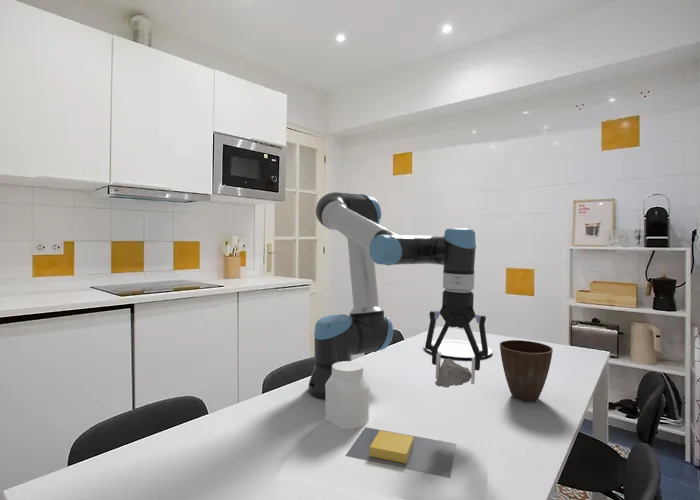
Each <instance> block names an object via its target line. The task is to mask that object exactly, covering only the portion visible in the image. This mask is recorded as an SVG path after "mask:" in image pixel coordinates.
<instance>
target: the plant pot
mask: <svg viewBox="0 0 700 500" xmlns="http://www.w3.org/2000/svg"><path fill="white" fill-rule="evenodd" d="M499 350H500V357H501V363H502V368H503V372H504V377H505V380H506V383H507V386H508V388H509V392H510V394H511V397H512V398H513V399H515V400H517V401H520V402H524V403H534V402H537V401H538V400H539V398H540V395H541V394H542V392H543V390H544V386H545V384H546V381H547V377H548V375H549V371H550V367H551V362H552V356H553V352H554V351H553V347H552V346H550V345H548V344H543V343H541V342H536V341H530V340H520V339H519V340H518V339H517V340H516V339H515V340H514V339H512V340H504V341H501V342H500V343H499Z"/></svg>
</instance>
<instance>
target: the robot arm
mask: <svg viewBox="0 0 700 500" xmlns="http://www.w3.org/2000/svg"><path fill="white" fill-rule="evenodd" d="M315 217H316V218H317V221H318V222H319V223H320V224H321V225H322V226H323V227H325V228H326V229H329V230H332V231H335V230H336V231H337V232H339V233H340V234H342V235H343V236H344V237H346V239H347V248H348V249H347V250H348V258H349V261H348V262H349V271H350V272H349V273H350V281H351V282H350V284H351V285H350V286H351V293H352V309H351V311H350V312H349V314H331V315H327V316H324V317H321V318H319V319H318V320H317V321H316V323H315V324H314V325H315V327H314V334H313V337H314V364H313V365H314V366H313V370H312V373H311V376H310V379H309V382H308V394H310V395H311V396H312V397H315V398H316V399H317V398H318V399H322V400H326V389H325V384H326V382H327V381H328V379H329V378H330V376H331V375H332V365H333V364H334V363H337V362H342V361H352V356H356V355H362V354H367V353H376V352H378V351H379V352H380V351H383V350H385V349H387V348H388V347H389V346H390V344H391V342H392V339H393V335H394V327H393V323H392V321H391V319H390V317H389V316H387V315H385V310H384V309H383V308H382V307H381V306H380V305H379V293H378V285H377V284H378V283H377V274H376V265H375V264H377V265H383V266H384V265H385V266H395V265H398V266H399V265H427V264H429V265H430V264H431V265H441V266H443V271H442V272H443V274H442V277H443V278H442V288H443V290H442V302H441V305H442V306H441V309H439V310H434V309H432V310H430V312H429V313H428V314H429V320H430V321H429V326H428V330H427V335H426V341H425V344H424V345H425V348H426V349H428V350H430V351H432V353H431V365H433V366H434V365H435V379H436V380H437V378H438V376H439V372H440V367H441V357H442V356H441V351H438V348H439V346H440V344H441V342H442V340H444V337H445V336H446V333H447V331H448V330H449V328H459V329H463V330H464V332H465V334H466V337H467V339H468V340H467V341H469V342H470V345H471V347H472V350H473V352H474V355H472V358H471V370H470V372H471V379H470V384H471V385H475V379H476V371H480V369H481V357H482V358H484V357H483V356H486V357H489V356H488V347H489V346H488V341H487V334H486V333H487V332H486V326H485V325H486V319H487V316H486V314H484V313H483V314H479V313H476V312H475V310H474V299H475V298H474V296H475V293H474V292H473V290H475V263H476V262H475V261H476V248H477V245H476V242H477V241H476V231H475V230H473V229H471V228H446V229H445V230H444V234H443V236H439V235H438V236H437V235H424V234H423V235H411V234H410V235H409V234H408V235H407V234H405V235H404V234H403V235H402V234H398V233H396V232H393V231H391V230H389V229H387V228H386V227H384V226H383V225H380V222H381V219H382V210H381V206H380V203H379V201H378V200H377V199H376V198H374V197H373V196H371V195H367V194H364V193H361V194H359V193H358V194H357V193H346V192H345V193H344V192H338V191H337V192H336V191H335V192H329V193H326V194H325V195H323V196H321V198H320V199H319V200H318V202H317V203H316V207H315ZM440 316H441V318H442V319H443V320H444V325H443V327H442V328H441V331H440V333H439V335H438V337H437V338H436V340H437V341H436V343H435V345H432V341H433V337H434V333H435V330H436V323H437V320H438V319H439V317H440ZM474 319H475V321H476V323H477V324H478V329H479V335H480V337H479V338H480V344H482V350H479V348H478V345H477V341H476V338H475V336H474V335H475V334H474V333H473V330H472V328H471V325H470V323H471V322H472V321H473V320H474ZM425 348H424V349H425ZM426 349H425V350H426Z"/></svg>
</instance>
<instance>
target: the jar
mask: <svg viewBox="0 0 700 500" xmlns="http://www.w3.org/2000/svg"><path fill="white" fill-rule="evenodd" d="M325 389H326V399H325V408H324V409H325V412H324V413H325V416H324V420H325V421H327V422H330V423H333V424H334V425H336V426H337V427H338V428H340V429H345V430H349V429H350V430H351V429H357V428H361V427H364V426H366V425H367V424H368V423H369V421H370V415H369V414H370V413H369V410H370V383H369V380H368V379H367V378H366V377H365V375H364V365H363V363H360V362H357V361H352V360H351V361H342V362H337V363H334V364H333V365H332V375H331V376H330V378H329V379H328V381H327V382H326V384H325Z"/></svg>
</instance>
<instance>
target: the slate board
mask: <svg viewBox="0 0 700 500" xmlns="http://www.w3.org/2000/svg"><path fill="white" fill-rule="evenodd" d="M380 430H381V431H385V430H383V429H378V428H373V427H367V426H365V427H364V428H363V430H361V432H360V434H359V435H358V437H357V438H356V440H355V441H354V443H353V444H352V445H351V447H350V448H349V450H348V451H347V453H346V454H345V457H348V458H349V457H350V458H355V459H359V460H363V461H364V460H365V461H368V462H369V461H370V462H372V463H374V462H375V463H379V464H382V465H387V466H388V465H389V466H393V467H397V468H402V469H406V470H412V471H416V472H420V473H421V472H422V473H425V474H431V475H434V476H439V477H445V478H449V479H450V478H451V474H452V469H453V463H454V458H455V453H456V448H457V443H455V442H449V441H442V440H438V439H432V438H426V437H421V436H416V435H413V436H414V446H413V448H412V451H411V453H410V456H409V458H408V461H407V463H401V462H396V461H391V460H386V459H381V458H377V457H372V456H370V446H371V444H372V442H373V441H374V439H375V437H376V436H377V434H378V432H379V431H380ZM386 431H387V432H390V431H388V430H386ZM391 432H392V433H396V432H394V431H391ZM397 433H398V434H401V432H400V433H399V432H397ZM402 434H403V435H407V434H405V433H402ZM408 435H409V436H412V435H410V434H408Z"/></svg>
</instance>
